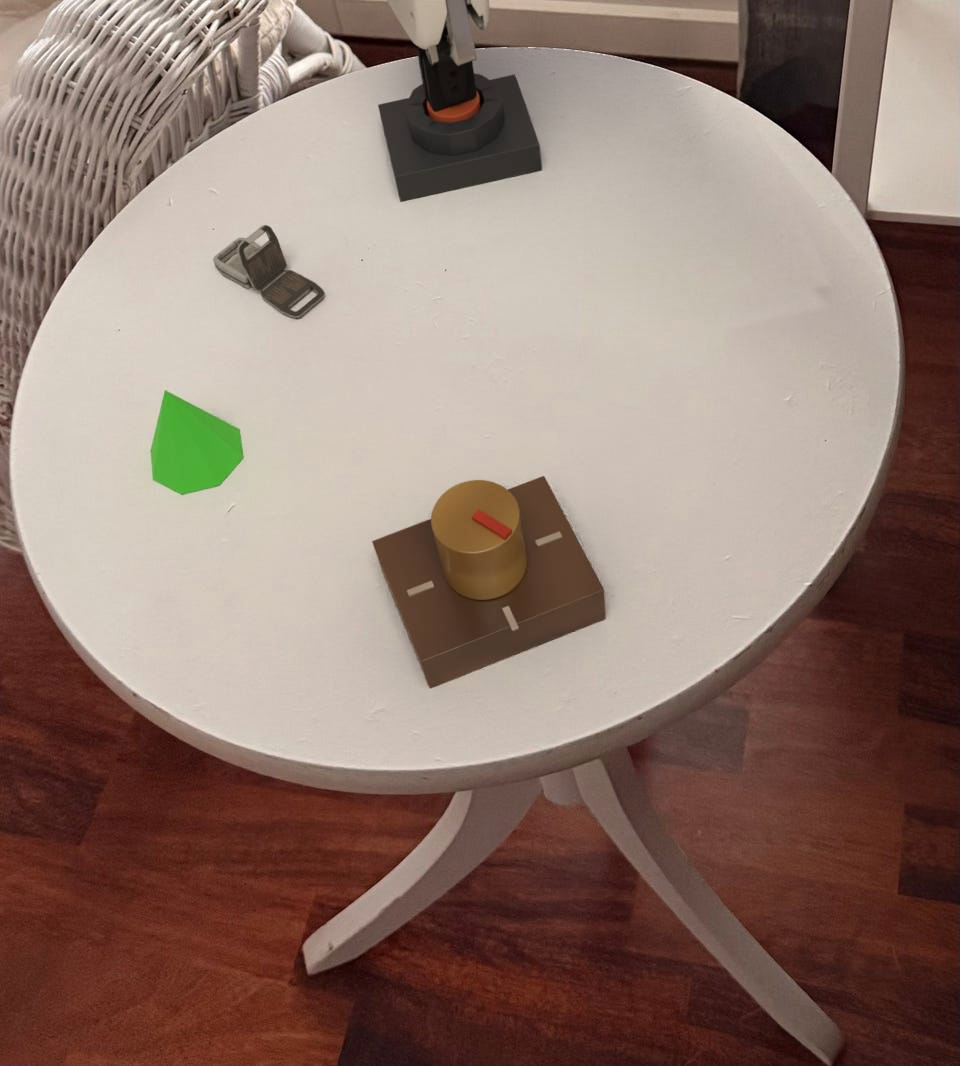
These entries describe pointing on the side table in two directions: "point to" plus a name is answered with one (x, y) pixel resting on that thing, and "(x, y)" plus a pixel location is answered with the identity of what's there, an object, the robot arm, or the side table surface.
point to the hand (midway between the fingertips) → (451, 98)
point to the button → (456, 111)
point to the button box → (460, 141)
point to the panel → (501, 623)
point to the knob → (479, 539)
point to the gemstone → (192, 447)
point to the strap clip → (267, 272)
